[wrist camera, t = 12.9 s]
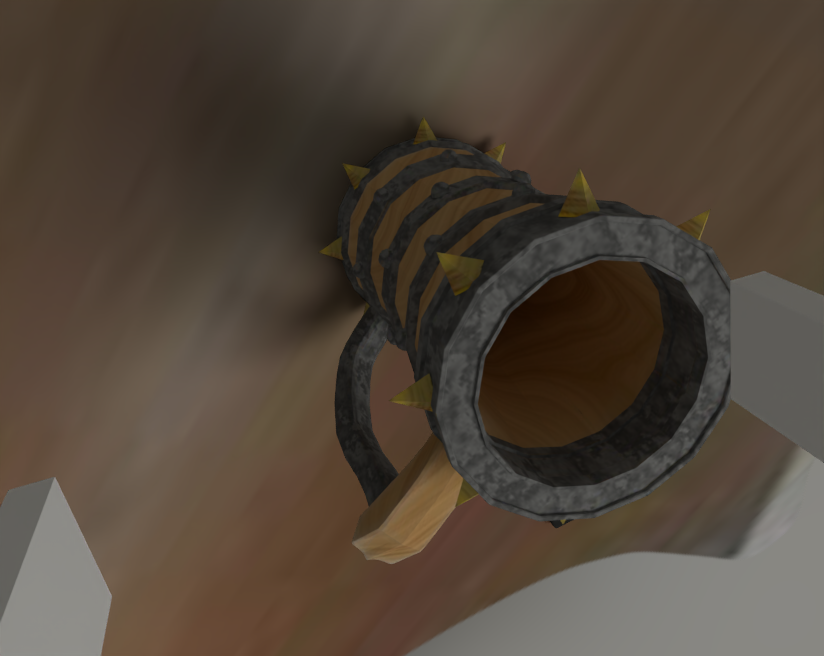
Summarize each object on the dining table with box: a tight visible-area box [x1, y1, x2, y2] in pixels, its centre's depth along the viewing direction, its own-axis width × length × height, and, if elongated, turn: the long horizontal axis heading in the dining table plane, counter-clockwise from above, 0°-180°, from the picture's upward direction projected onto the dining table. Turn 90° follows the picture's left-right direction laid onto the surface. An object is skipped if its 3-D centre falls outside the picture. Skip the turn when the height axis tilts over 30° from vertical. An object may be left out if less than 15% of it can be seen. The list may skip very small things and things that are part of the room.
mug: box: [319, 116, 731, 564], centre depth 32 cm, size 13×17×20 cm
